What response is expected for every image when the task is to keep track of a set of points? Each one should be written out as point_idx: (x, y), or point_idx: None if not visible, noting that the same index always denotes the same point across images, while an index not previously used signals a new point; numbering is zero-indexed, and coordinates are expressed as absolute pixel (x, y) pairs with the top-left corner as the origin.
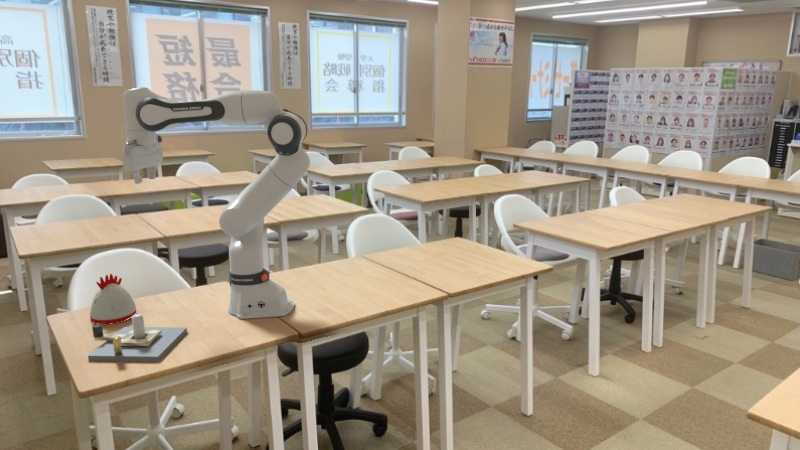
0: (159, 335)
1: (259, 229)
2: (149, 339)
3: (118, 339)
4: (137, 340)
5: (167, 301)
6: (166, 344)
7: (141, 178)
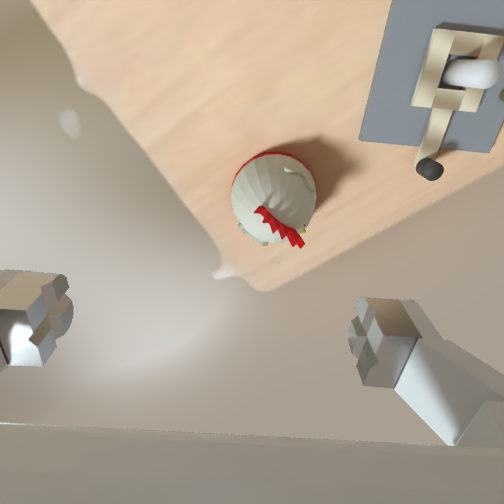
0: None
1: None
2: (486, 38)
3: None
4: None
5: (185, 108)
6: None
7: (394, 328)
